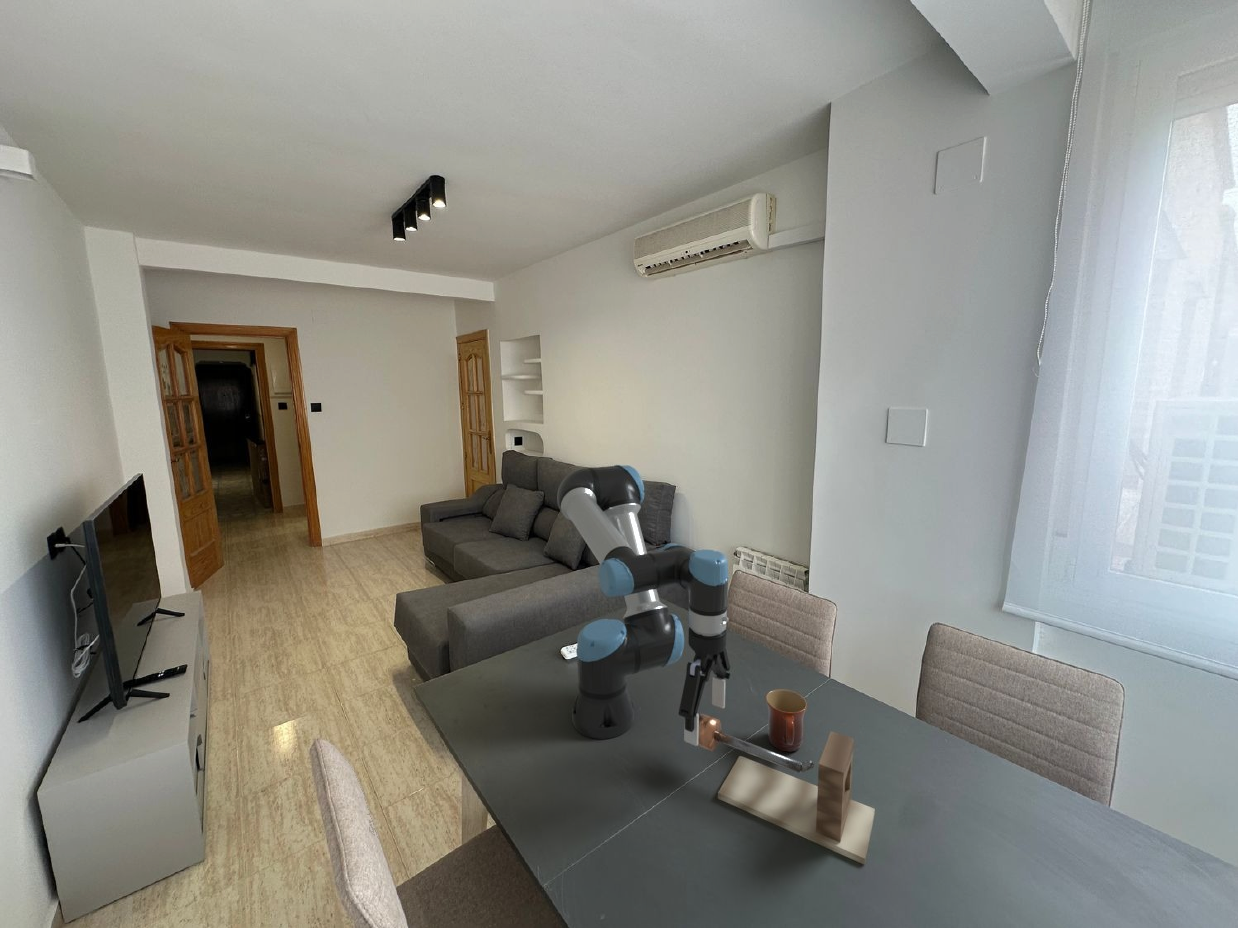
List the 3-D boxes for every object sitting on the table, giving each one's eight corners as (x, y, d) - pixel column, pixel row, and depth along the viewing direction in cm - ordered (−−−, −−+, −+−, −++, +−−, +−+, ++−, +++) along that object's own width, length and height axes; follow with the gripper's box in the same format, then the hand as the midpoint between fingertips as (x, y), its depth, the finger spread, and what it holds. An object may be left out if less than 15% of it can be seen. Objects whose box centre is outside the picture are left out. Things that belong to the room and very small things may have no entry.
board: (717, 798, 99) (717, 792, 98) (739, 760, 108) (739, 755, 108) (864, 864, 84) (864, 858, 84) (874, 814, 94) (874, 808, 94)
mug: (763, 727, 119) (764, 687, 117) (802, 732, 117) (803, 691, 116) (767, 764, 107) (768, 719, 106) (811, 769, 105) (812, 724, 104)
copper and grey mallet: (688, 748, 104) (688, 721, 104) (700, 732, 109) (700, 706, 109) (808, 797, 91) (810, 767, 90) (816, 776, 96) (817, 748, 95)
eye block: (815, 831, 89) (818, 763, 87) (828, 794, 98) (830, 731, 96) (840, 842, 87) (843, 772, 85) (850, 803, 95) (853, 738, 93)
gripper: (698, 661, 90) (696, 768, 93) (747, 608, 110) (743, 697, 113) (661, 649, 94) (660, 752, 97) (714, 600, 114) (712, 687, 118)
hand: (705, 723), depth 105 cm, fingers open, 13 cm apart
